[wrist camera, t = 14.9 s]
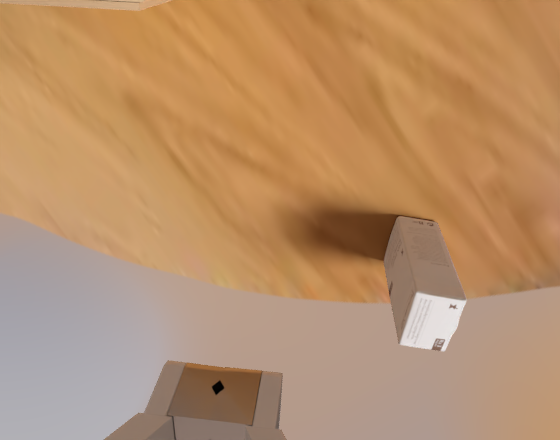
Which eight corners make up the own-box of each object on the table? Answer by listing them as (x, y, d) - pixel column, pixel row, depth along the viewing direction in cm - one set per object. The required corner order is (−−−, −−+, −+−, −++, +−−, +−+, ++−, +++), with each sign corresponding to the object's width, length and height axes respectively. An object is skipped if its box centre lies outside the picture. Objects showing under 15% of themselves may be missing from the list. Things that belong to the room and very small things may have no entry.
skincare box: (395, 214, 47) (412, 289, 37) (440, 220, 47) (469, 298, 37) (381, 263, 51) (393, 345, 40) (423, 270, 50) (446, 354, 40)
